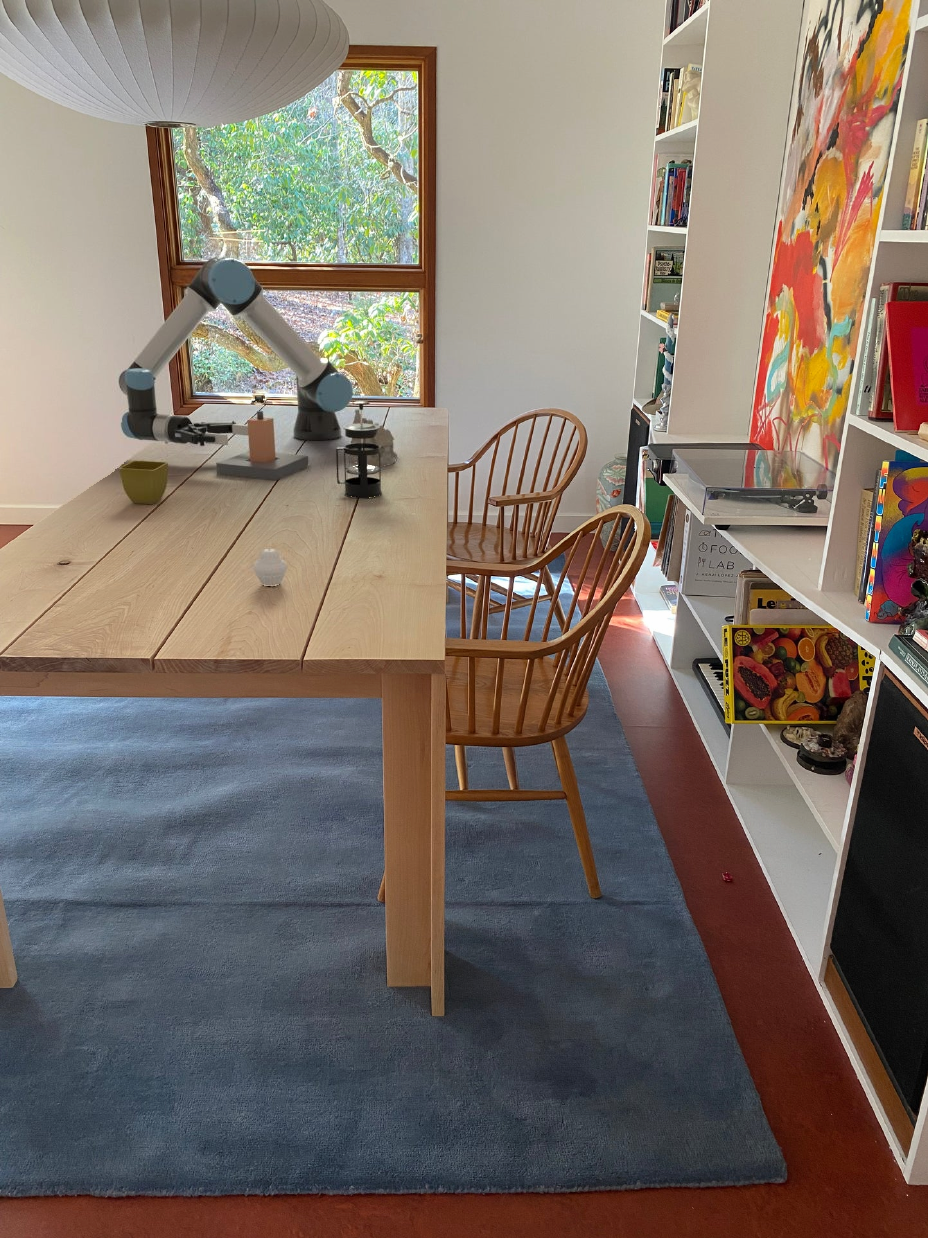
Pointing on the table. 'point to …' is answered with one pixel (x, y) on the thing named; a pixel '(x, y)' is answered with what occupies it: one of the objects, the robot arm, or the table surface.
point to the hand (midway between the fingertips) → (240, 435)
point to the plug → (261, 439)
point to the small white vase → (270, 567)
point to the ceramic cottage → (381, 439)
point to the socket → (262, 466)
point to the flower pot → (144, 480)
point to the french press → (361, 460)
